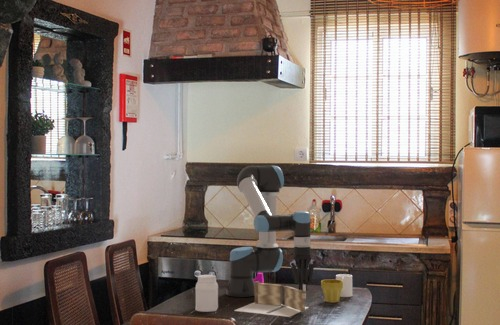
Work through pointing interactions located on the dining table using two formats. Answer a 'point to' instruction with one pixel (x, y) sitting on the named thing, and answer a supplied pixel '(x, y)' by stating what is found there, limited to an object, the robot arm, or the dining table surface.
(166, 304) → the dining table surface
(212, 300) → the jar
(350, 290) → the cup
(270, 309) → the card
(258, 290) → the fixed fence section
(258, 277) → the toy block
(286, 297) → the wooden board
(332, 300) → the plant pot
